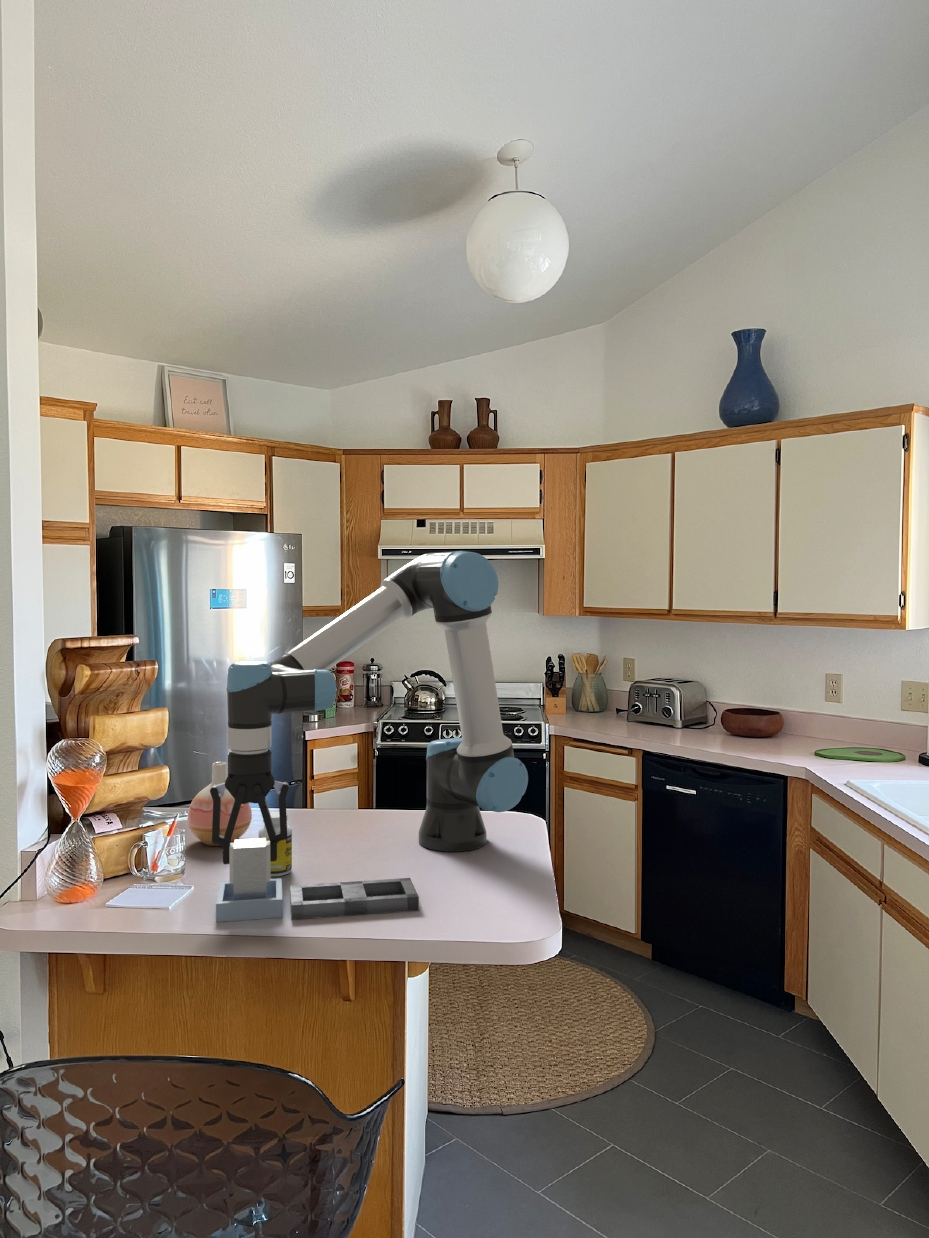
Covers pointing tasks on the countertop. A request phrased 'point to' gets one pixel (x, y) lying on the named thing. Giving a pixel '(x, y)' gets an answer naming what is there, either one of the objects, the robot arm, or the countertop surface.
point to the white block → (249, 868)
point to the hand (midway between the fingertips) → (250, 879)
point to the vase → (203, 810)
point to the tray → (249, 903)
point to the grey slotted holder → (353, 898)
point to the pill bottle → (279, 848)
